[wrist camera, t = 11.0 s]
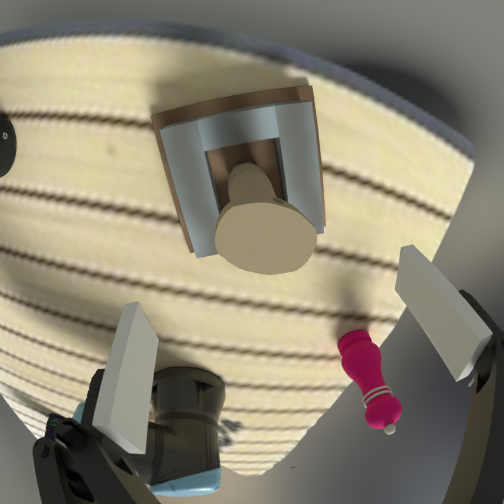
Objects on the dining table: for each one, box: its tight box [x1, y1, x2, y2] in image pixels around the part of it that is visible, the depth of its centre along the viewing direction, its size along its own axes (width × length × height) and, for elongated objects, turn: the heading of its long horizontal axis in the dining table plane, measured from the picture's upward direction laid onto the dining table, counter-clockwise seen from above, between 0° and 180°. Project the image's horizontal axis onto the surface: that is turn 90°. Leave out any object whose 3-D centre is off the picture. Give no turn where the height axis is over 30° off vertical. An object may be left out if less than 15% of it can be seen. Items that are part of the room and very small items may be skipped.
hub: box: [151, 86, 326, 258], centre depth 29 cm, size 17×17×5 cm
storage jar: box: [44, 414, 65, 442], centre depth 56 cm, size 10×10×15 cm
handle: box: [215, 160, 317, 275], centre depth 24 cm, size 5×6×15 cm
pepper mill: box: [338, 330, 402, 434], centre depth 41 cm, size 7×7×20 cm
